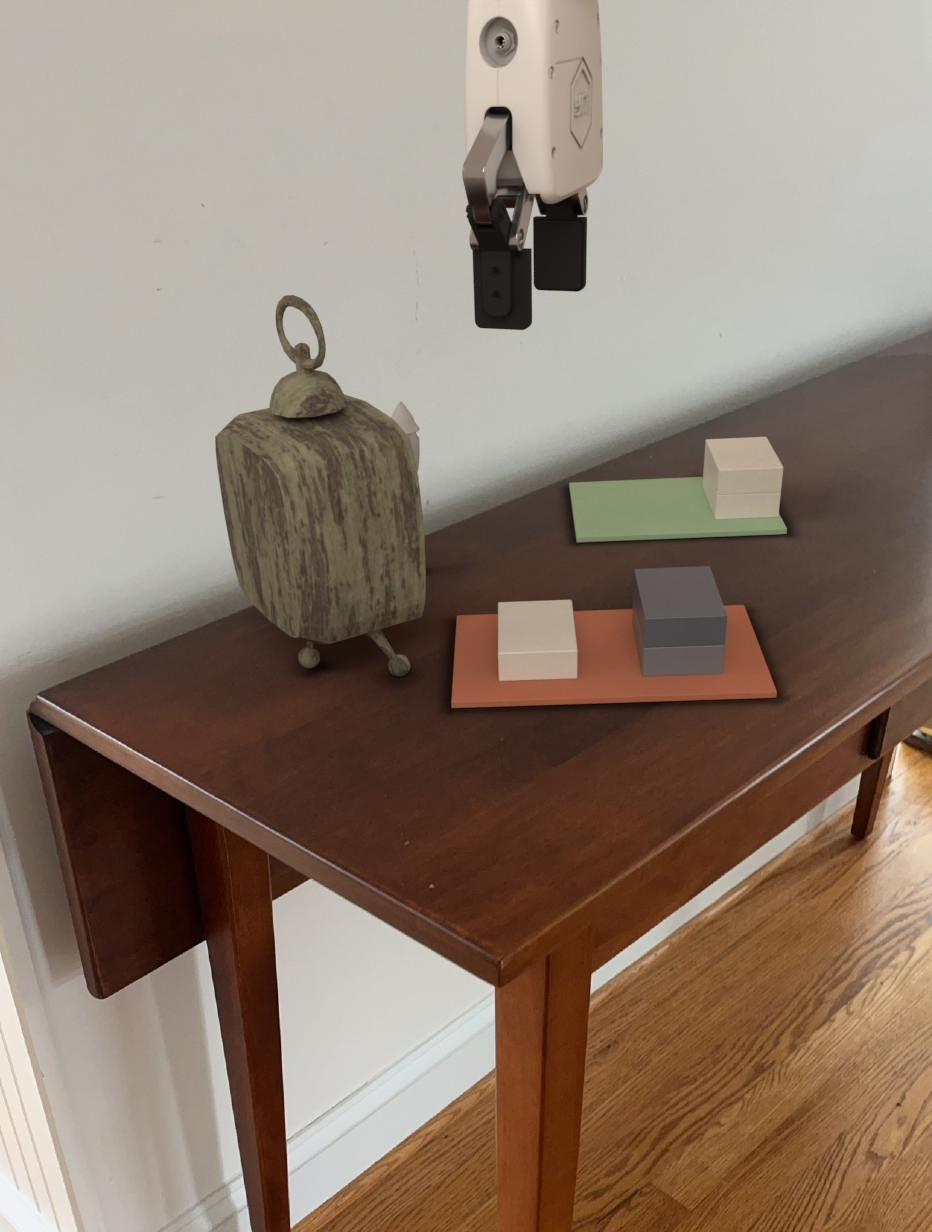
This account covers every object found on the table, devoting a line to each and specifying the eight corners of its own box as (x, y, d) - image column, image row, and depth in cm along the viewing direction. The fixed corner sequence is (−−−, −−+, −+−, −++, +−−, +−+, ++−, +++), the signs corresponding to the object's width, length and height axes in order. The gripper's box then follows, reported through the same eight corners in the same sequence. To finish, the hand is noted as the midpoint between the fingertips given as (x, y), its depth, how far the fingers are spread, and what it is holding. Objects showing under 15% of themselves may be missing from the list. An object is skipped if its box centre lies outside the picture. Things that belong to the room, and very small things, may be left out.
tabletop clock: (434, 680, 89) (408, 304, 74) (320, 716, 86) (269, 330, 71) (345, 611, 99) (307, 269, 85) (240, 641, 96) (182, 291, 81)
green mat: (759, 479, 118) (759, 474, 118) (786, 534, 107) (787, 528, 107) (569, 487, 120) (569, 482, 119) (576, 542, 108) (576, 537, 108)
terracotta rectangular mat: (743, 610, 95) (744, 604, 95) (776, 698, 84) (777, 691, 84) (457, 621, 97) (456, 615, 97) (451, 708, 86) (451, 701, 85)
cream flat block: (571, 626, 94) (571, 598, 92) (577, 679, 87) (577, 650, 86) (498, 628, 94) (497, 601, 93) (498, 681, 87) (497, 653, 86)
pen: (392, 570, 106) (378, 400, 97) (421, 563, 106) (410, 394, 98) (404, 580, 104) (390, 407, 96) (433, 573, 105) (422, 402, 96)
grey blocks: (706, 621, 93) (710, 565, 91) (722, 674, 86) (727, 615, 84) (631, 624, 93) (633, 568, 91) (642, 676, 87) (645, 618, 84)
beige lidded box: (762, 483, 116) (766, 436, 113) (778, 517, 109) (783, 466, 106) (702, 486, 116) (705, 438, 114) (715, 519, 109) (718, 469, 107)
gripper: (544, -61, 55) (545, 347, 65) (648, -64, 68) (635, 278, 78) (390, -50, 58) (414, 341, 68) (519, -55, 70) (522, 275, 80)
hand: (532, 307), depth 73 cm, fingers open, 9 cm apart
